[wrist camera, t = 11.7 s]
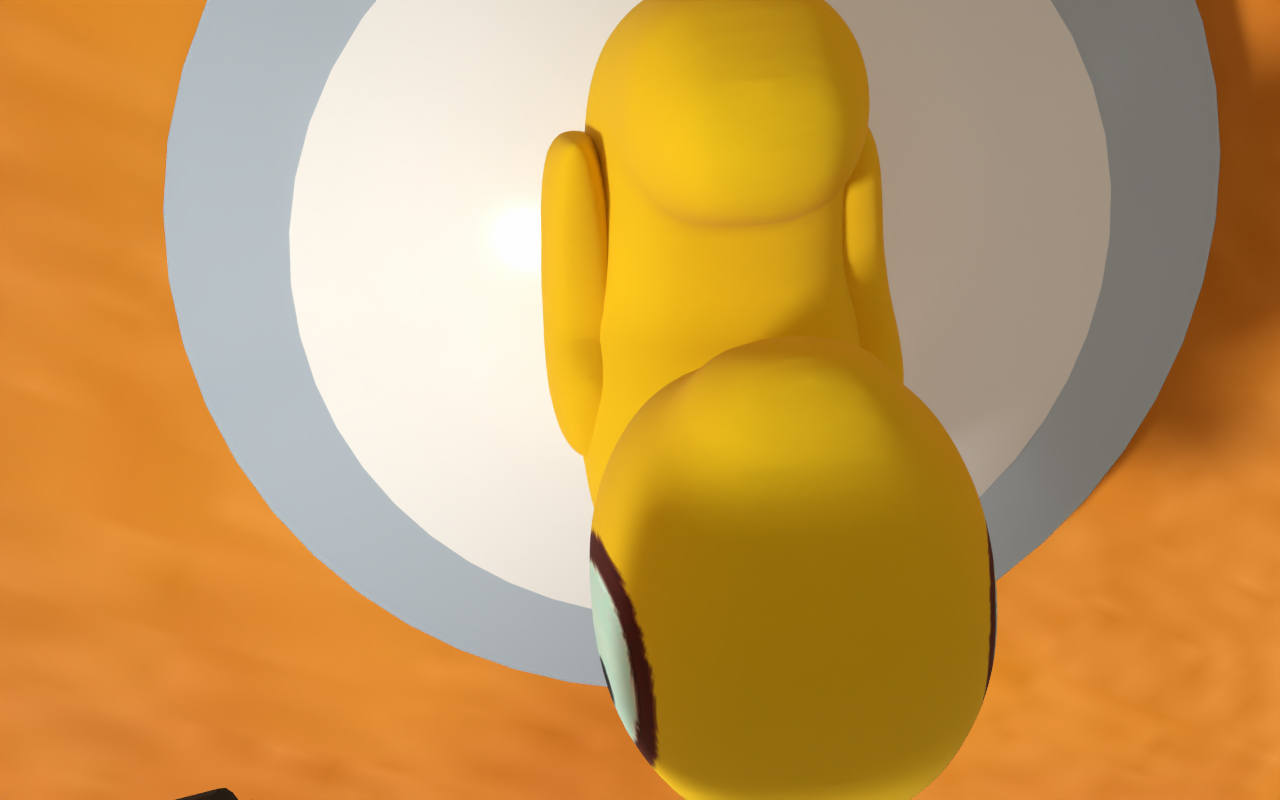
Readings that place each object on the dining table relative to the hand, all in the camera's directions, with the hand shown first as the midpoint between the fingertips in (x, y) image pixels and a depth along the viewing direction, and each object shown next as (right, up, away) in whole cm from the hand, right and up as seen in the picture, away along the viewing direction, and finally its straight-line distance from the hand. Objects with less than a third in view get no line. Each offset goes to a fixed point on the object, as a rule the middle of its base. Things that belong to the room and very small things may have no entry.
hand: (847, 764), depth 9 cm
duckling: (-1, +5, +10) cm, 12 cm away
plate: (-1, +5, +11) cm, 13 cm away
